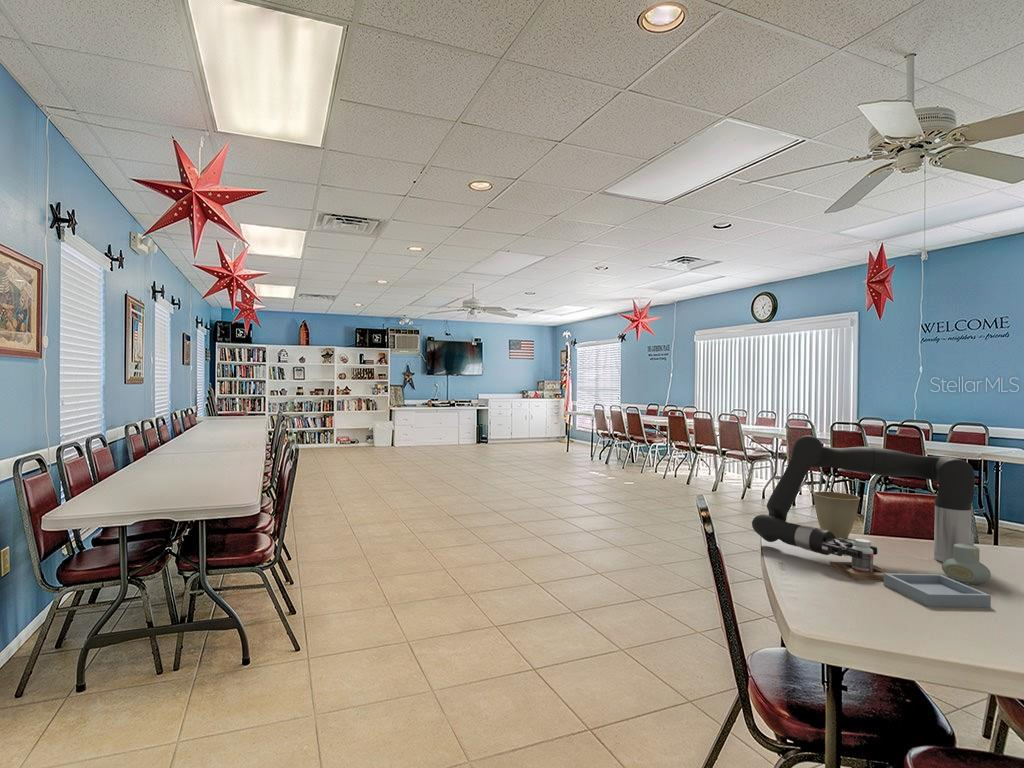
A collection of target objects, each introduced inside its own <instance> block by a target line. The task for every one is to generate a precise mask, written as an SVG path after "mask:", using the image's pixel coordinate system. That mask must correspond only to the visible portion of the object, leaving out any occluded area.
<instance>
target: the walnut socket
mask: <svg viewBox="0 0 1024 768" xmlns="http://www.w3.org/2000/svg"><path fill="white" fill-rule="evenodd" d="M830 566H831V567H832V569H833V568H834V569H833V570H835V569H836V570H835V571H837V570H838V571H837V572H839V571H840V572H839V573H841V574H843V575H845V576H846V577H849V578H850V577H851V579H852V578H853V580H854V579H855V581H879V580H882V581H883V582H884V573H891V571H888V570H886V569H884V568H881V567H879V566H877V565H875V564H873V572H857V571H855V570H853V569H852V561H829V567H830ZM831 567H830V568H831ZM882 581H881V582H882Z"/></svg>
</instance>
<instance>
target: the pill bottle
mask: <svg viewBox="0 0 1024 768" xmlns="http://www.w3.org/2000/svg"><path fill="white" fill-rule="evenodd" d="M854 540H855V545H856V546H854V547H852V549H856V550H860V551H862V552H863V557H862V558H861V559H859V558H855V557H851V562H852V569H853V570H855V571H857V572H873V565H874V555H873V550H872V549H871V548H870V547H871V546H872V541H871V540H868V539H864V538H855V539H854Z"/></svg>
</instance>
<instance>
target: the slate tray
mask: <svg viewBox="0 0 1024 768" xmlns="http://www.w3.org/2000/svg"><path fill="white" fill-rule="evenodd" d="M884 584H885V585H884ZM883 585H884V586H887V587H888V588H890V589H892V590H894V589H895V591H896V590H897V592H898V591H899V593H900V592H901V593H900V594H902V593H903V595H904V594H905V596H906V595H907V597H908V596H909V598H911V599H913V600H914V601H917V602H918V603H921V604H922V605H925V606H927V607H930V608H931V607H935V608H936V607H937V608H938V607H940V608H941V607H942V608H944V607H945V608H946V607H948V608H949V607H950V608H992V604H991V603H992V595H991V594H988V593H986V592H984V591H981V590H979V589H976V588H974V587H972V586H969V585H967V584H966V583H961V582H958V581H956V580H954V579H952V578H950V577H949V576H945V575H943V574H937V573H936V574H935V573H892V572H890V573H884V581H883Z"/></svg>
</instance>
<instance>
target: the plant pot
mask: <svg viewBox="0 0 1024 768" xmlns="http://www.w3.org/2000/svg"><path fill="white" fill-rule="evenodd" d="M812 495H813V502H814V508H815V509H814V510H815V514H816V518H817V521H818V524H819V529H824V530H828V531H831V532H832V533H833V534H834V536H835V538H836V539H838V538H843V539H844V538H848V539H849V536H850V534H851V531H852V529H853V526H854V524H855V520H856V518H857V514H858V509H859V505H860V500H861V497H859V496H857V495H855V494H850V493H846V492H845V493H844V492H837V491H820V490H819V491H814V492H812Z"/></svg>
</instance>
